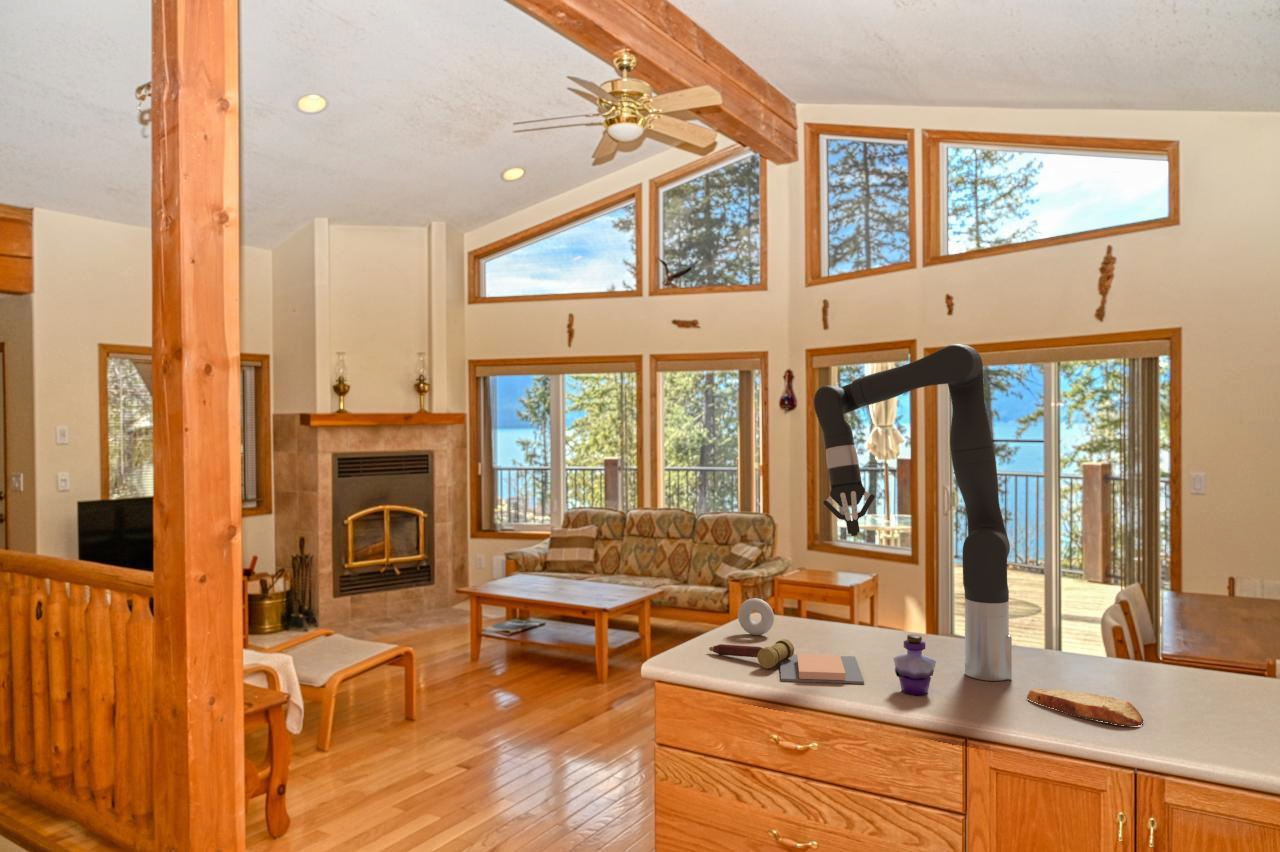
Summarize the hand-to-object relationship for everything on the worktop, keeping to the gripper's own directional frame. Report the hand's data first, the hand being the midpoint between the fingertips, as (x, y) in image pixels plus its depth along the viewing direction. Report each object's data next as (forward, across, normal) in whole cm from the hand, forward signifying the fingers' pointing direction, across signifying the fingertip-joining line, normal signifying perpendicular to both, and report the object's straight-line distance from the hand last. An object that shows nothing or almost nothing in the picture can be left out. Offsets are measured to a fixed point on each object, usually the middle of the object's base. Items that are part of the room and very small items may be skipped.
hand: (854, 535), depth 209 cm
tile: (+27, -13, -4) cm, 30 cm away
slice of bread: (+40, +37, -27) cm, 61 cm away
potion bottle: (+34, +6, -21) cm, 40 cm away
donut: (+23, -29, +21) cm, 43 cm away
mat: (+29, -13, -8) cm, 33 cm away
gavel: (+26, -30, -3) cm, 40 cm away
